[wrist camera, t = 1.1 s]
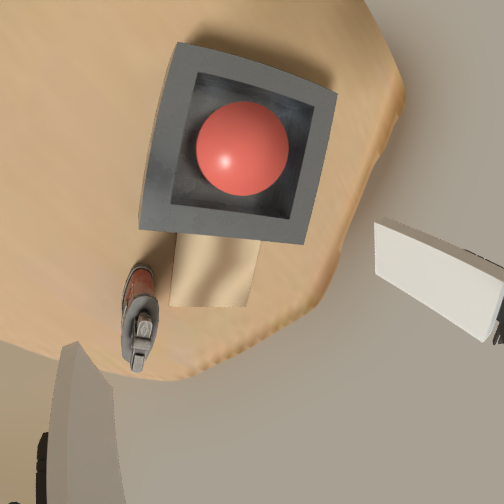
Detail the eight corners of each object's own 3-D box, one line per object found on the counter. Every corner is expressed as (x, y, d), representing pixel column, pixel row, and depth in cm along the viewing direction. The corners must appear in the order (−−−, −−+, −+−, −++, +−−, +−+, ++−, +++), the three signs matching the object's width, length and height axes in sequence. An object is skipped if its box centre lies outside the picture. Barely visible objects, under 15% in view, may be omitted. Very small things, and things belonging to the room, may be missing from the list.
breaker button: (186, 187, 26) (188, 188, 25) (206, 93, 23) (209, 91, 22) (273, 200, 29) (277, 202, 29) (291, 116, 27) (296, 116, 26)
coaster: (168, 304, 33) (169, 306, 33) (178, 223, 31) (179, 224, 30) (244, 305, 38) (245, 306, 37) (261, 232, 35) (262, 233, 34)
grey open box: (138, 215, 29) (138, 229, 24) (170, 59, 24) (177, 41, 19) (280, 230, 36) (303, 244, 31) (309, 98, 31) (337, 93, 26)
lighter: (129, 261, 30) (129, 308, 21) (158, 267, 31) (169, 315, 23) (117, 321, 32) (117, 378, 23) (143, 325, 33) (151, 382, 25)
